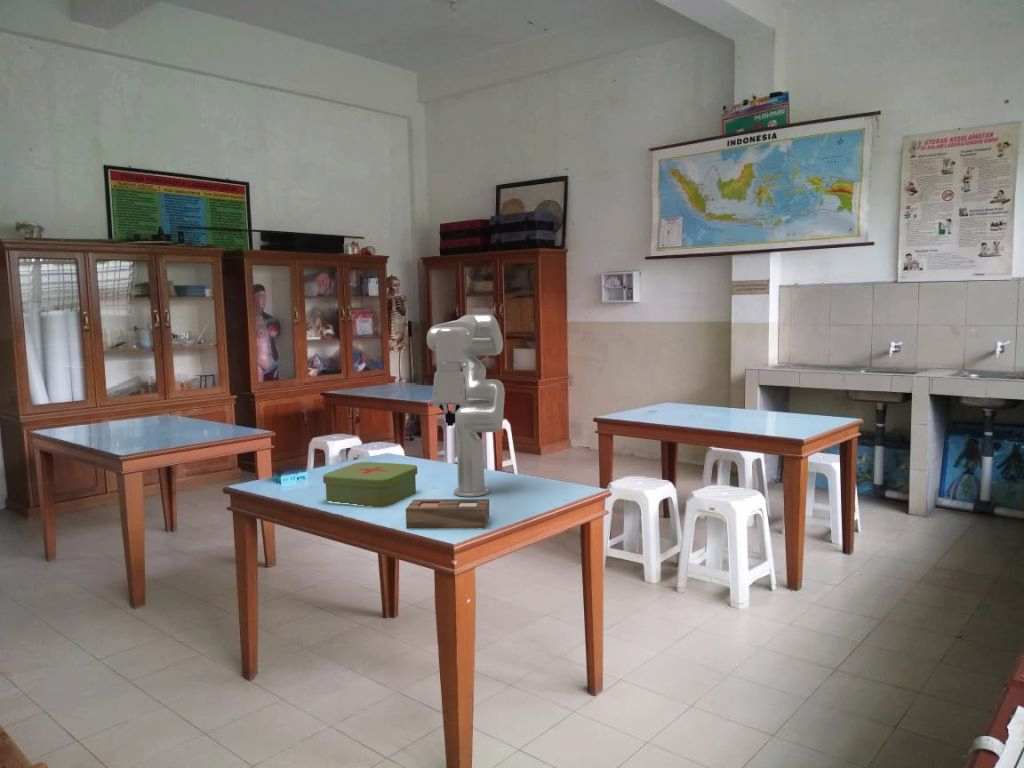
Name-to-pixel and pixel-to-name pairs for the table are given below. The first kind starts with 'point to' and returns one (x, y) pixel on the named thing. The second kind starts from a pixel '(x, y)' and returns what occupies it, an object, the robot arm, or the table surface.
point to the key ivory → (468, 504)
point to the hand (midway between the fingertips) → (450, 425)
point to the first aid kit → (371, 483)
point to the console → (448, 514)
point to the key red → (429, 505)
